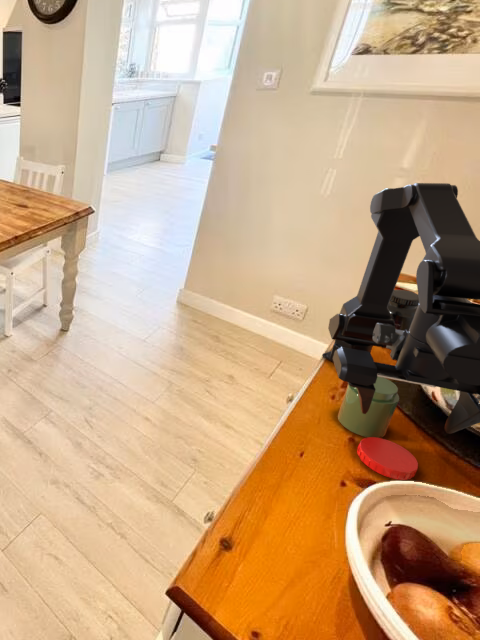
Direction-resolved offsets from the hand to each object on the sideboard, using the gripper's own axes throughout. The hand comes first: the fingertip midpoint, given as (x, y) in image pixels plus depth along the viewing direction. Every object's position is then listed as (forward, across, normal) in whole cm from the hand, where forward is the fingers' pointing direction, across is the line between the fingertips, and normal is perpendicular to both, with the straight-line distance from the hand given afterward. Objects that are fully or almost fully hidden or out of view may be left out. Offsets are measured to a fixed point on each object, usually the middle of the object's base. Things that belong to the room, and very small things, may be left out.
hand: (403, 421), depth 62 cm
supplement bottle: (+10, -9, -41) cm, 43 cm away
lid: (+8, 0, -1) cm, 8 cm away
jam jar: (+10, +1, -9) cm, 13 cm away
